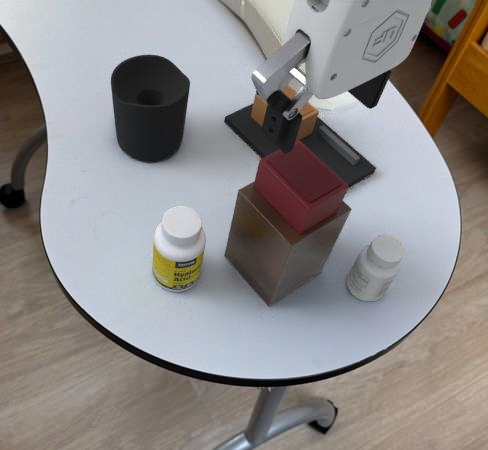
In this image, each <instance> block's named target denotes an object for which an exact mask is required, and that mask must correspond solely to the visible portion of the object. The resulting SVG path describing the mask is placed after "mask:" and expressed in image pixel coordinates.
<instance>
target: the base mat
mask: <svg viewBox="0 0 488 450" xmlns="http://www.w3.org/2000/svg"><path fill="white" fill-rule="evenodd" d="M252 108H253V103H251V104H248V105H246V106H243V107H242V108H240V109H238V110H236V111H234V112H231V113H230V114H227V115H225V116H224V124H226V125H227V126H228V127H229V128H230V129H231V130H232V131H233V132H234V133H235V134H236V135H237V136H238V137H239V138H240V139H241V140H242V141H243V142H244V143H245V144H246V145H247V146H248V147H249V148H250V149H251V150H252V151H254V153H255V154H256V155H258V157H259V158H260V159H262V158H264V157H266V156H268V155H270V154H272V153H274V152H276V151H277V150H279V148H278V147H277V146H276V145H275V144H274V143H272V142H271V141H270V140H269V139H268V138H267V137H266V136H265V134H264V133H263V132H262V126H260V125H259V124H258V123H257V122H256V121H255V120H254V119H253V118H252V117H251V113H252ZM300 141H301V142H302V143H303V144H304V145H305V146H306V147H307V148H308V149H310V150H311V151H312V152H313V153H314V154H315V155H316V156H317V157H318V158H319V159H320V160H322V161H323V162H324V163H325V164H326V165H327V166H328V167H329V168H330V169H331V170H332V171H333V172H335V173H336V174H337V175H338V176H339V177H340V178H341V179H342V180H343V181H344V182H345V183H347V184H348V185H349V187H348V189H349V188H351V187H353V186H354V185H356V184H358V183H359V182H361V181H363V180H364V179H366V178H368V177H370V176H371V175H373V174H374V173H376V169H377V167H376V166H375V165H373V163H372V162H370V161H369V160H368V159H367V158H366V157H365V156H363V154H361V153H360V152H359V151H358V150H357V149H355V148H354V147H353V146H352V145H351V144H350V143H348V141H346V140H345V139H344V138H343V137H342V136H341V135H339V134H338V132H336V131H335V130H334V129H333V128H332V127H330V125H328V124H327V123H326V122H324V120H323V119H321V118H320V117H319V115H318V116H317V119H316V122H315V125H314V128H313V131H312V134H310V135H308V136H306V137H304V138H302V139H300Z"/></svg>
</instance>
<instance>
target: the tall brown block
mask: <svg viewBox="0 0 488 450" xmlns="http://www.w3.org/2000/svg"><path fill="white" fill-rule="evenodd" d="M254 182H255V180H254V181H252V182H250V183H249V184H246V185H245V186H243V187H241V188H239V189H238V190H237V194H236V199H235V203H234V208H233V213H232V218H231V222H230V226H229V231H228V237H227V241H226V246H225V251H224V258H225V259H226V260H227V261H228V262H229V263H230V264H231V266H232V267H233V268H234V269H235V271H237V273H238V274H240V276H241V277H242V279H244V280H245V281H246V283H247V284H248V286H250V288H251V289H252V290H253V291H254V292H255V293H256V294H257V295H258V297H259V298H260V299H261V300H262V301H263V303H264V304H265V305H266V306H267V307H269V308H270V307H271V306H273V305H275V304H276V303H277V302H279V301H280V300H282V299H283V298H285V297H287V296H288V295H290V294H291V293H293V292H294V291H296V290H298V289H299V288H300V287H303V285H305V284H306V283H308V282H310V281H311V280H313V279H314V278H315V277H318V275H320V274H322V273H323V270H324V268H325V266H326V264H327V262H328V260H329V257H330V255H331V253H332V251H333V249H334V247H335V245H336V243H337V241H338V239H339V237H340V234H341V232H342V230H343V228H344V227H345V224H346V222H347V220H348V218H349V216H350V214H351V211H352V209H353V208H351V207H350V206H349V205H348V204H347V203H346V202H345V201H344V200H343V201H342V203H341V205H340V207H339V210H338V212H336V213H335V214H333V215H331V216H330V217H328V218H327V219H325V220H323V221H322V222H320V223H318V224H317V225H315V226H313V227H312V228H310V229H308V230H307V231H305V232H304V233H302V234H299V233H298V232H297V231H296V230H295V229H294V228H293V227H292V226H291V225H290V224H289V223H288V222H287V221H286V220H285V219H284V218H283V217H282V216H281V215H280V214H279V213H278V212H277V210H276V209H275V208H274V207H273V206H272V205H271V204H270V203H269V202H268V201H267V200H266V199H265V198H264V197H263V196H262V195H261V194H260V193H259V192H258V191H257V190H256V189H255V188H254V187H253V186H254Z"/></svg>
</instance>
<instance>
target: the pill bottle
mask: <svg viewBox="0 0 488 450" xmlns="http://www.w3.org/2000/svg"><path fill="white" fill-rule="evenodd" d="M404 256H405V247H404V245H403V243H402V242H401V241H400V240H399V239H398V238H397V237H395V236H393V235H390V234H378V235H376V236H375V237H374V238H373V239H372V241H371V242H370V243H369V244H367V245H366V246H364V247H363V248H362V249H361V250H360V252H359V254H357V257H356V259H355V261H354V263H353V265H352V266H351V268H350V271H348V274H347V276H346V286H347V289H348V291H349V292H350V294H351V295H352V296H354V297H355V298H356V299H358V300H360V301H364V302H375V301H378V300H380V299H381V298H382V297H384V295H385V293H386V292H387V290H388V289H389V287H390V286H391V284H392V283H393V281H394V280H395V278H396V277H397V275H398V273H399V272H400V269H401V262H402V260H403V258H404Z"/></svg>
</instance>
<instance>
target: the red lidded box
mask: <svg viewBox="0 0 488 450" xmlns="http://www.w3.org/2000/svg"><path fill="white" fill-rule="evenodd" d="M254 181H255V182H254ZM254 181H253V182H254V186H253V187H254V188H255V189H256V190H257V191H258V192H259V193H260V194H261V195H262V196H263V197H264V198H265V199H266V200H267V201H268V202H269V203H270V204H271V205H272V206H273V207H274V208H275V209H276V210H277V212H278V213H279V214H280V215H281V216H282V217H283V218H284V219H285V220H286V221H287V222H288V223H289V224H290V225H291V226H292V227H293V228H294V229H295V230H296V231H297V232H298V233H299V234H302V233H304V232H305V231H307V230H308V229H310V228H312V227H313V226H315V225H317V224H318V223H320V222H322V221H323V220H325V219H327V218H328V217H330V216H331V215H333V214H335V213H336V212H338V210H339V207H340V205H341V203H342V201H344V199H345V196H346V193H347V192H348V189H349V188H350V187H349V185H348V184H347V183H345V182H344V181H343V180H342V179H341V178H340V177H339V176H338V175H337V174H336V173H335V172H333V171H332V170H331V169H330V168H329V167H328V166H327V165H326V164H325V163H324V162H323V161H322V160H320V159H319V158H318V157H317V156H316V155H315V154H314V153H313V152H312V151H311V150H310V149H308V148H307V147H306V146H305V145H304V144H303V143H302V142H301V141H300V140H297V141H295V144H294V147H293V150H292V151H291V152H289V153H287V154H284V153H283V152H282V151H281V150H280V149H279V150H277V151H276V152H274V153H272V154H270V155H268V156H266V157H264V158H260V159H259V161H258V166H257V169H256V173H255V177H254ZM348 187H349V188H348Z"/></svg>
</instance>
